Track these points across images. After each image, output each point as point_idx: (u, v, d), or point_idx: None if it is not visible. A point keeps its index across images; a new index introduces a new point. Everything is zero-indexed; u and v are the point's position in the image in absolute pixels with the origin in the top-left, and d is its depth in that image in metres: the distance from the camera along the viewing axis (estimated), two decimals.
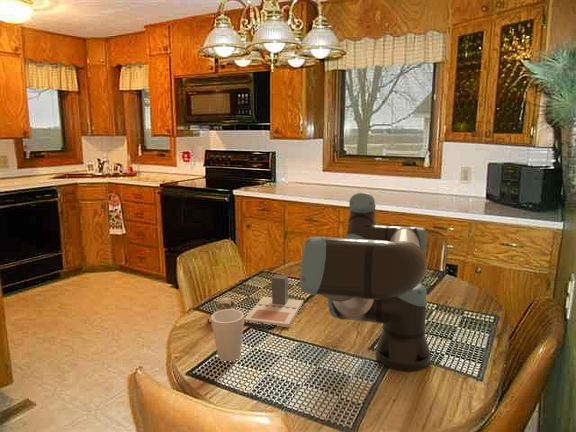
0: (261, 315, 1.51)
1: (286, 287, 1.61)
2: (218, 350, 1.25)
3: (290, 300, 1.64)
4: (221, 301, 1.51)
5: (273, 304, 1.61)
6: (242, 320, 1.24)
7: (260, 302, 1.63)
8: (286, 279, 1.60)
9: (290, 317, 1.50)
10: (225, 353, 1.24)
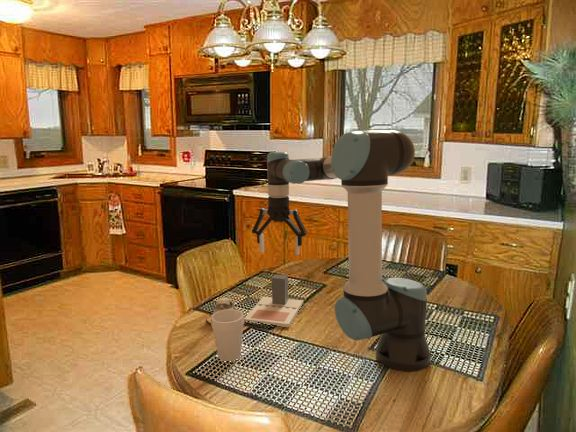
0: (261, 315, 1.51)
1: (286, 287, 1.61)
2: (218, 350, 1.25)
3: (290, 300, 1.64)
4: (220, 301, 1.50)
5: (273, 304, 1.61)
6: (242, 320, 1.24)
7: (260, 302, 1.63)
8: (286, 279, 1.60)
9: (290, 317, 1.50)
10: (225, 353, 1.24)
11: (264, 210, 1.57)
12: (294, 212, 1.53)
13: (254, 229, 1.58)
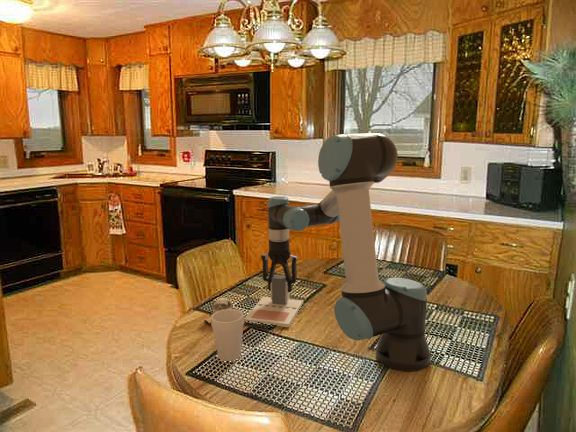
0: (261, 315, 1.51)
1: None
2: (218, 350, 1.25)
3: (290, 300, 1.64)
4: (218, 301, 1.50)
5: (273, 304, 1.61)
6: (242, 320, 1.24)
7: (260, 302, 1.63)
8: None
9: (290, 317, 1.50)
10: (225, 353, 1.24)
11: (265, 255, 1.60)
12: (294, 259, 1.56)
13: (264, 276, 1.61)
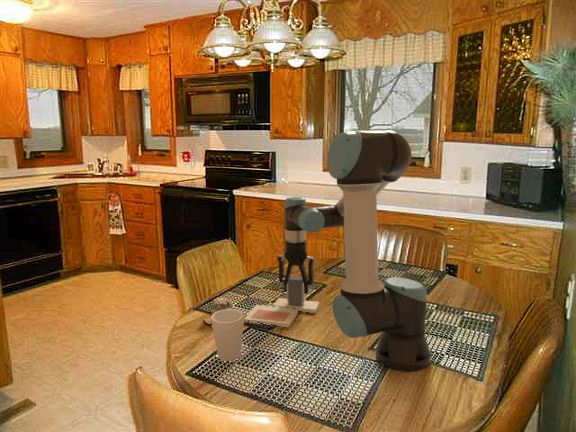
0: (261, 315, 1.51)
1: None
2: (218, 350, 1.25)
3: (306, 302, 1.62)
4: (217, 301, 1.50)
5: (289, 306, 1.59)
6: (242, 320, 1.24)
7: (276, 304, 1.61)
8: (302, 280, 1.59)
9: (290, 317, 1.50)
10: (225, 353, 1.24)
11: (281, 256, 1.58)
12: (311, 260, 1.55)
13: (280, 278, 1.59)
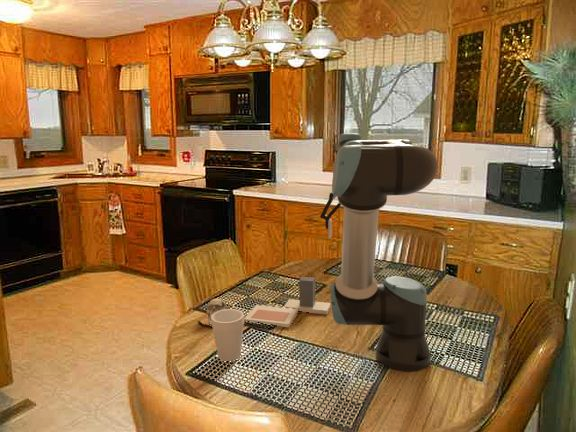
0: (261, 315, 1.51)
1: (314, 290, 1.58)
2: (218, 350, 1.25)
3: (317, 303, 1.61)
4: (212, 302, 1.50)
5: (300, 307, 1.58)
6: (242, 320, 1.24)
7: (287, 305, 1.60)
8: (314, 281, 1.58)
9: (290, 317, 1.50)
10: (225, 353, 1.24)
11: None
12: None
13: (323, 214, 1.53)
